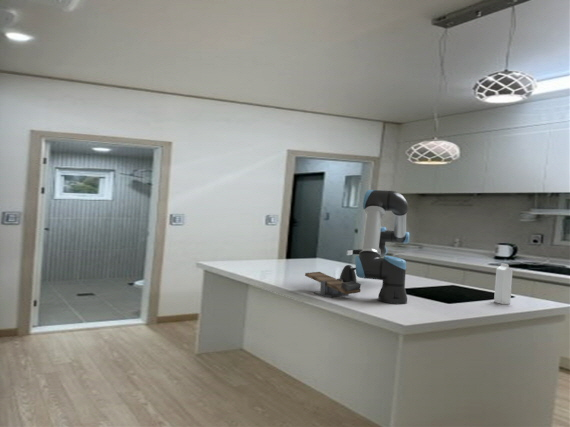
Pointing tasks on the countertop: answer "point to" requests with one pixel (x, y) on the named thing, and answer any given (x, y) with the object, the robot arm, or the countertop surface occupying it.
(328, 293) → the pivot stand
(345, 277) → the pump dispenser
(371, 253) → the robot arm
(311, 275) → the balance beam
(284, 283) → the countertop surface
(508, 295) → the milk
